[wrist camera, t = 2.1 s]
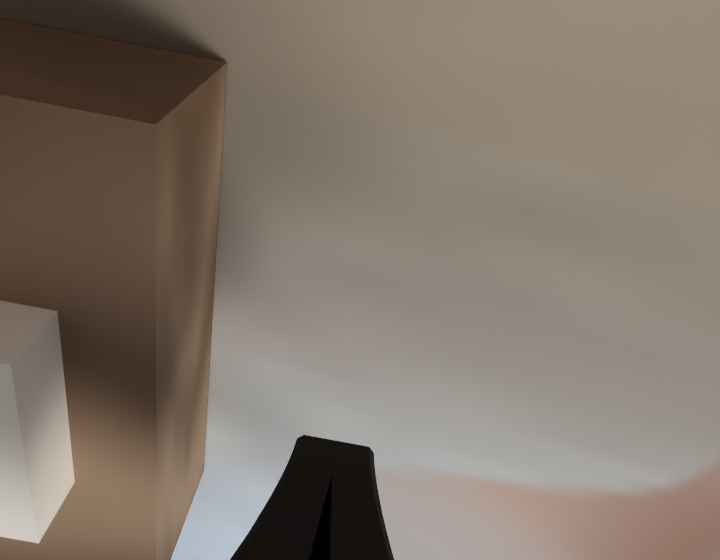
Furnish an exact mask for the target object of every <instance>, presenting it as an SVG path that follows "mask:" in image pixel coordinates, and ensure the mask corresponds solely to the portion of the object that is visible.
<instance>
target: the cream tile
mask: <svg viewBox="0 0 720 560" xmlns="http://www.w3.org/2000/svg"><path fill="white" fill-rule="evenodd" d="M74 483H75V479H74V470H73V460H72V450H71V440H70V430H69V420H68V410H67V400H66V390H65V381H64V371H63V361H62V351H61V341H60V331H59V321H58V311H54V310H49V309H43V308H38V307H33V306H27V305H22V304H16V303H11V302H6V301H0V537H5V538H10V539H16V540H22V541H27V542H33V543H38V544H39V542H40V541H41V539H42V537H43V535H44V534H45V532H46V530H47V529H48V527H49V525H50V524H51V522H52V520H53V518H54V517H55V515H56V513H57V512H58V510H59V508H60V507H61V505H62V503H63V501H64V500H65V498H66V496H67V495H68V493H69V491H70V489H71V488H72V486H73V484H74Z"/></svg>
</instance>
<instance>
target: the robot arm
mask: <svg viewBox="0 0 720 560" xmlns="http://www.w3.org/2000/svg"><path fill="white" fill-rule="evenodd" d="M230 560H394V558H393V555H392V551H391V547H390V543H389V539H388V536H387V532H386V528H385V524H384V519H383V515H382V510H381V505H380V500H379V495H378V489H377V483H376V476H375V467H374V453H373V451H372V450H371V449H370V448H369V447H366V446H361V445H355V444H350V443H344V442H339V441H334V440H328V439H323V438H317V437H312V436H306V435H303V436H301V437H299V438H297V441H296V444H295V447H294V450H293V452H292V455H291V457H290V460H289V462H288V464H287V466H286V468H285V471H284V473H283V475H282V477H281V479H280V480H279V482H278V484H277V486H276V488H275V490H274V492H273V494H272V495H271V497H270V499H269V500H268V502H267V504H266V505H265V507H264V509H263V510H262V512H261V514H260V515H259V517H258V519H257V520H256V522H255V524H254V525H253V527H252V528H251V530H250V532H249V533H248V535H247V536H246V538H245V539H244V540H243V542H242V543H241V545H240V546H239V548H238V549H237V551H236V552H235V554H234V555H233V556H232V558H231V559H230Z"/></svg>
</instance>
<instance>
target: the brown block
mask: <svg viewBox="0 0 720 560" xmlns="http://www.w3.org/2000/svg"><path fill="white" fill-rule="evenodd" d="M226 71H227V62H223V61H218V60H213V59H208V58H202V57H197V56H192V55H187V54H182V53H177V52H172V51H166V50H161V49H156V48H151V47H146V46H141V45H136V44H130V43H125V42H120V41H115V40H110V39H105V38H100V37H94V36H89V35H84V34H79V33H74V32H69V31H64V30H58V29H53V28H48V27H43V26H38V25H33V24H28V23H22V22H17V21H12V20H7V19H2V18H0V301H6V302H11V303H16V304H22V305H27V306H33V307H38V308H43V309H49V310H54V311H58V321H59V331H60V341H61V351H62V361H63V371H64V381H65V390H66V400H67V410H68V420H69V430H70V440H71V450H72V460H73V470H74V479H75V483H74V484H73V486H72V488H71V489H70V491H69V493H68V495H67V496H66V498H65V500H64V501H63V503H62V505H61V507H60V508H59V510H58V512H57V513H56V515H55V517H54V518H53V520H52V522H51V524H50V525H49V527H48V529H47V530H46V532H45V534H44V535H43V537H42V539H41V541H40V542H39V544H38V543H33V542H27V541H22V540H16V539H10V538H5V537H0V560H170V559H171V557H172V554H173V551H174V549H175V546H176V543H177V541H178V538H179V535H180V533H181V530H182V527H183V525H184V522H185V519H186V517H187V514H188V511H189V509H190V506H191V503H192V501H193V498H194V495H195V493H196V490H197V487H198V485H199V482H200V479H201V477H202V474H203V471H204V456H205V438H206V421H207V404H208V386H209V369H210V351H211V334H212V316H213V299H214V281H215V264H216V246H217V229H218V211H219V194H220V176H221V159H222V141H223V124H224V106H225V89H226Z"/></svg>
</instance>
